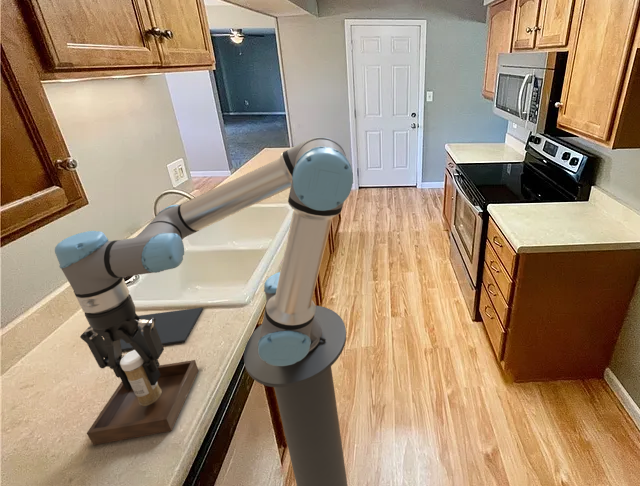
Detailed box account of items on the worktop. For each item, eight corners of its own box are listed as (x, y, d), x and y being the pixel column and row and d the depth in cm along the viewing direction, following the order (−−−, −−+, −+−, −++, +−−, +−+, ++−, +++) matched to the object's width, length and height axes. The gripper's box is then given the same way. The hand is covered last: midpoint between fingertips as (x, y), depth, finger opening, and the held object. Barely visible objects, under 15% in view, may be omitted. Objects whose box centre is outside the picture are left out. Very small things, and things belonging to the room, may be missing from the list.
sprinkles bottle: (166, 391, 80) (149, 350, 75) (148, 409, 76) (128, 367, 71) (153, 386, 82) (135, 346, 77) (134, 404, 77) (114, 362, 73)
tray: (198, 370, 88) (195, 359, 86) (171, 430, 73) (166, 419, 72) (134, 380, 85) (129, 369, 84) (93, 445, 71) (86, 433, 70)
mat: (203, 309, 110) (202, 307, 109) (185, 342, 97) (184, 340, 97) (137, 317, 107) (136, 315, 106) (109, 353, 94) (108, 350, 94)
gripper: (44, 322, 64) (90, 404, 72) (144, 308, 66) (177, 389, 75) (73, 296, 70) (112, 374, 79) (162, 285, 73) (190, 362, 82)
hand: (143, 382), depth 77 cm, fingers closed on sprinkles bottle, 5 cm apart
